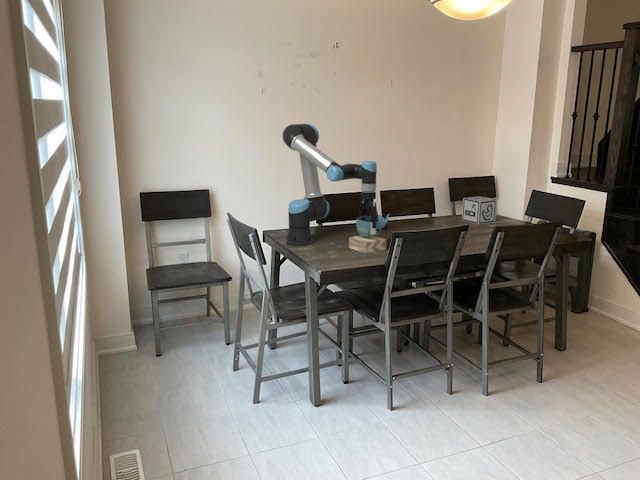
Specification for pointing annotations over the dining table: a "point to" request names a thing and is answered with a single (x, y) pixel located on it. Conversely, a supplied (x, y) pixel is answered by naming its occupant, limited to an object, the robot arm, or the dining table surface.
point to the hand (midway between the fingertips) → (367, 231)
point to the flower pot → (364, 225)
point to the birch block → (367, 243)
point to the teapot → (381, 222)
